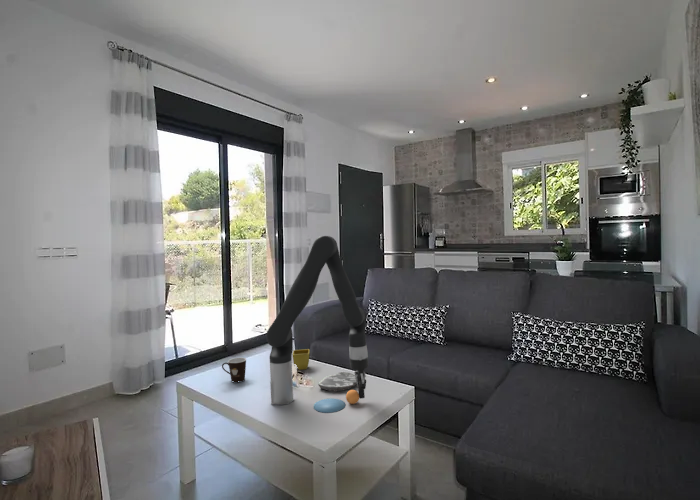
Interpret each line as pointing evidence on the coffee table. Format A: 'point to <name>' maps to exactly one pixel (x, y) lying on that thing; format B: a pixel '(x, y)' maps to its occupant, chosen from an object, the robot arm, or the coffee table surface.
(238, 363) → the coffee mug
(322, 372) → the coffee table surface
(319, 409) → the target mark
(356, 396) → the ball
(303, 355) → the flower pot
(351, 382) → the brain slice
